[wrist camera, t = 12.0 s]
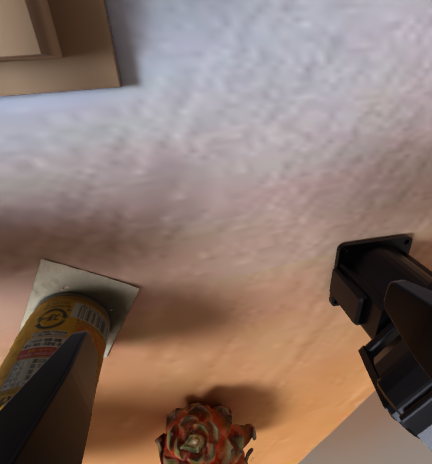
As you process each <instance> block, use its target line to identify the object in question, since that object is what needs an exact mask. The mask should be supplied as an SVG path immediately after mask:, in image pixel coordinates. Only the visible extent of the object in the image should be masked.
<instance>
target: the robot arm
mask: <svg viewBox="0 0 432 464" xmlns="http://www.w3.org/2000/svg"><path fill="white" fill-rule="evenodd" d="M411 243H412V238H411V237H410V236H408V235H399V236H392V237H385V238H378V239H371V240H364V241H357V242H350V243H343V244H341V245H339V246H338V248H337V253H336V259H335V265H334V269H333V272H332V279H331V285H330V297H329V301H330V303H331V304H332V305H333V306H338V305H340V306H341V307H342V309H343V310H344V311H345V313H346V314H347V315H348V317H349V318H350V319H351V321H352V322H353V323H354V324H355V325H361V326H362V328H363V329H364V330H365V331H366V333H367V334H368V335H369V337H370V338H371V339H372V340H371V341H370V342H369V343H368V344H366V345H365V346H362V347H361V348H360V349H359V350H358V351H359V353H360V356H361V358H362V360H363V363H364V365H365V367H366V370H367V372H368V374H369V376H370V378H371V380H372V383H373V385H374V387H375V389H376V391H377V393H378V396H379V398H380V400H381V402H382V404H383V406H384V408H385V409H386V410H387V411H388V412H389V414H390V415H391V417H392V418H393V419H394V420H396V421H398V422H399V423H400V424H401V425H402V426H403V427H404V428H405V429H406V430H408V431H409V432H410V433H411V434H412V435H414V436H416V437H417V438H419V439H421V440H422V441H423V442H424V443H425V444H426V446H427V447H428V448H429V449H430V450H431V451H432V271H430V270H429V269H428V268H426V267H425V266H424V265H422V264H421V263H419V262H418V261H417V260H415V259H414V258H413V257H411V256H410V255H409V254H408V253H409V250H410V247H411ZM343 249H345V250H344V251H343ZM96 367H97V350H96V348H95V345H94V342H93V340H92V337H91V335H90V333H89V332H88V331H81V332H75V333H72V334H71V335H70V336H69V337H68V338H67V339H66V340H65V341H64V342H63V343H62V344H61V345H60V347H59V348H58V349H57V350H56V351H55V352H54V353H53V354H52V355H51V356H50V357H49V358H48V359H47V360H46V362H45V363H44V364H43V365H42V366H41V367H40V368H39V369H38V370H37V371H36V372H35V373H34V374H33V375H32V376H31V378H30V379H29V380H28V381H27V382H26V383H25V384H24V385H23V386H22V387H21V388H20V389H19V390H18V391H17V393H16V394H15V395H14V396H13V397H12V398H11V399H10V400H9V401H8V402H7V403H6V404H5V405H4V406H3V407H2V409H1V410H0V464H82V459H83V454H84V450H85V445H86V440H87V435H88V431H89V426H90V420H91V415H92V407H93V397H94V387H95V377H96Z"/></svg>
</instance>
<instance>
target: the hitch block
mask: <svg viewBox="0 0 432 464" xmlns="http://www.w3.org/2000/svg"><path fill="white" fill-rule="evenodd" d="M121 86H122V83H121V78H120V73H119V68H118V63H117V58H116V53H115V47H114V42H113V37H112V32H111V27H110V22H109V17H108V12H107V7H106V2H105V0H0V96H9V95H22V94H34V93H47V92H60V91H73V90H85V89H98V88H111V87H121Z"/></svg>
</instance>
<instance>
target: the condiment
mask: <svg viewBox="0 0 432 464" xmlns="http://www.w3.org/2000/svg"><path fill="white" fill-rule="evenodd" d="M65 286H69V287H68V288H66V289H64V287H65ZM62 288H63V289H64V290H62V291H60V289H62ZM138 291H139V288H136V287H133V286H130V285H128V284H125V283H122V282H119V281H116V280H112V279H109V278H107V277H103V276H100V275H96V274H93V273H90V272H87V271H85V270H79V269H75V268H71V267H68V266H66V265H63V264H58V263H54V262H50V261H47V260H44V259H41V262H40V265H39V268H38V272H37V275H36V278H35V281H34V285H33V288H32V291H31V294H30V298H29V301H28V305H27V308H26V311H25V314H24V317H23V321H22V324H21V327H20V330H19V333H18V336H17V337H16V339H15V341H14V343H13V345H12V347H11V348H10V351H9V353H8V355H7V356H6V358H5V359H4V361H3V363H2V365H1V367H0V410H1V409H2V407H3V406H4V405H5V404H6V403H7V402H8V401H9V400H10V399H11V398H12V397H13V396H14V395H15V394H16V393H17V391H18V390H19V389H20V388H21V387H22V386H23V385H24V384H25V383H26V382H27V381H28V380H29V379H30V378H31V376H32V375H33V374H34V373H35V372H36V371H37V370H38V369H39V368H40V367H41V366H42V365H43V364H44V363H45V362H46V360H47V359H48V358H49V357H50V356H51V355H52V354H53V353H54V352H55V351H56V350H57V349H58V348H59V347H60V345H61V344H62V343H63V342H64V341H65V340H66V339H67V338H68V337H69V336H70V335H71V334H72V333H75V332H81V331H88V332H89V333H90V335H91V337H92V340H93V342H94V345H95V348H96V350H97V367H96V377H95V387H94V397H95V393H96V388H97V384H98V381H99V375H100V370H101V366H102V362H103V358H106V356H107V354H108V352H109V350H110V348H111V346H112V344H113V342H114V340H115V338H116V336H117V334H118V332H119V329H120V328H121V326H122V323H123V322H124V320H125V318H126V316H127V313H128V312H129V309H130V307H131V305H132V303H133V301H134V299H135V298H136V295H137V293H138ZM111 309H112V311H111ZM94 397H93V401H94Z"/></svg>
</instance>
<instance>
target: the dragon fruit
mask: <svg viewBox="0 0 432 464" xmlns="http://www.w3.org/2000/svg"><path fill="white" fill-rule="evenodd" d="M231 420H232V416H231V410H230V409H229V408H227V407H224V406H222V405H219V406H216V407H214V408H212V409H211V408H210V406H209V405H208V404H205V403H200V402H199V403H193V404H188V405H187V407H186V409H185V410H184V409H180V408H176V409H175V410H173V411H172V412H171V413H170V414H169V415H167V421H166V434H164V433H163V434H162V435H161V436H160V437H159V438H157V439H156V440H155V442H156V443H157V445H158V449H159V456H160V462H161V464H248V462H247V461H248V458H249V456H250V454H251V453H252V451H253V448H251V449H249V450H248V452H247V454H246V457H245V454H244V451H243V448H244V447H245V446H246V445H247V444H248V443H249V441H250V440H251V438H253V440H256V431H255V428H254V426H252V425H251V424H246V425H244V426H243V425H233V424H232V422H231ZM252 458H253V457H252Z"/></svg>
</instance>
